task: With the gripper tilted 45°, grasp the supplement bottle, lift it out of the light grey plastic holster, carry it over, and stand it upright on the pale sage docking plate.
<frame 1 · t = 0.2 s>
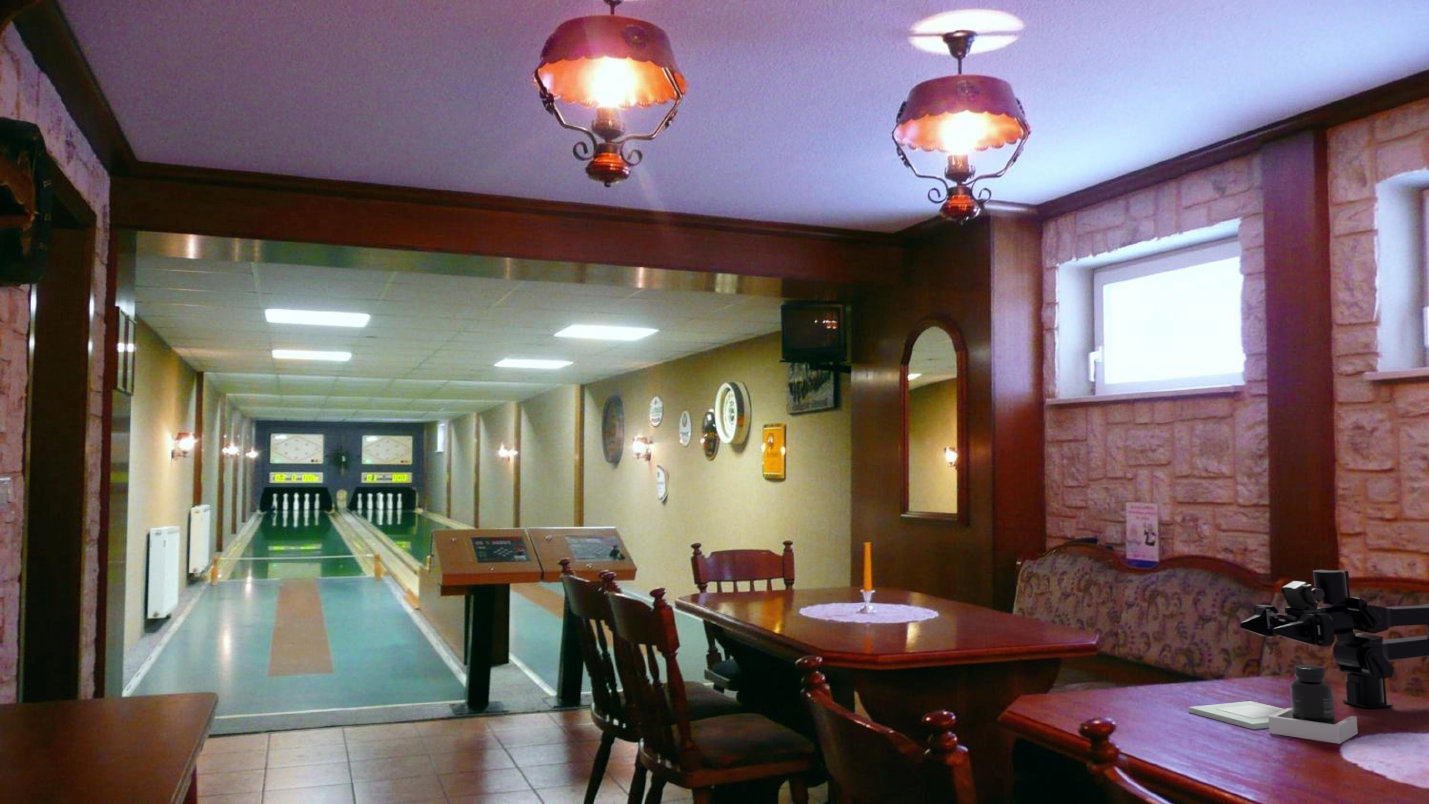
hand: (1256, 628, 206), 17 cm above the table, tool horizontal, fingers open, 9 cm apart
supplement bottle: (1314, 734, 188), resting in holster
holster: (1314, 732, 188), on the table
docking plate: (1251, 716, 201), on the table
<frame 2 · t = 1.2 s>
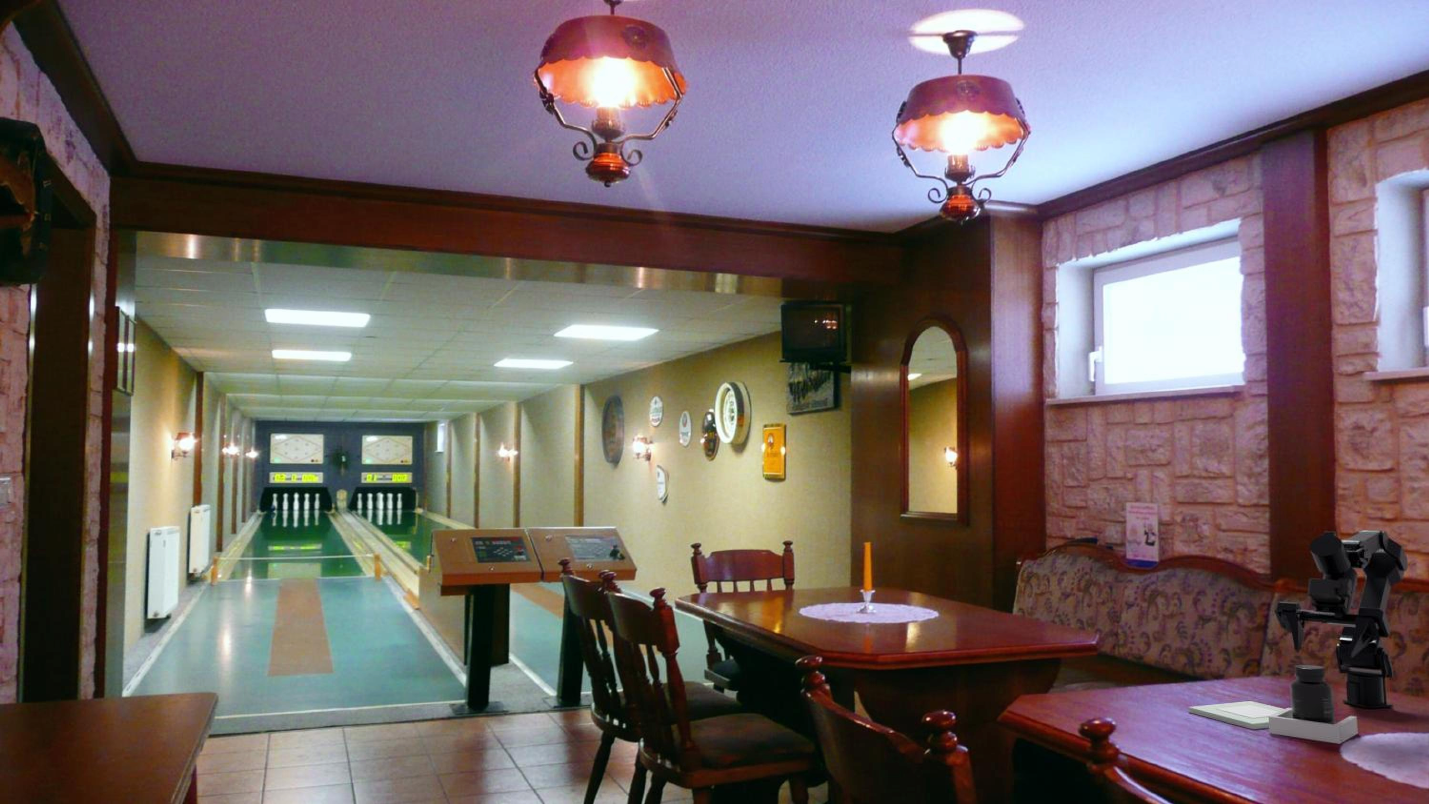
hand: (1323, 653, 194), 13 cm above the table, tool tilted 45°, fingers open, 9 cm apart
nothing on the table moved.
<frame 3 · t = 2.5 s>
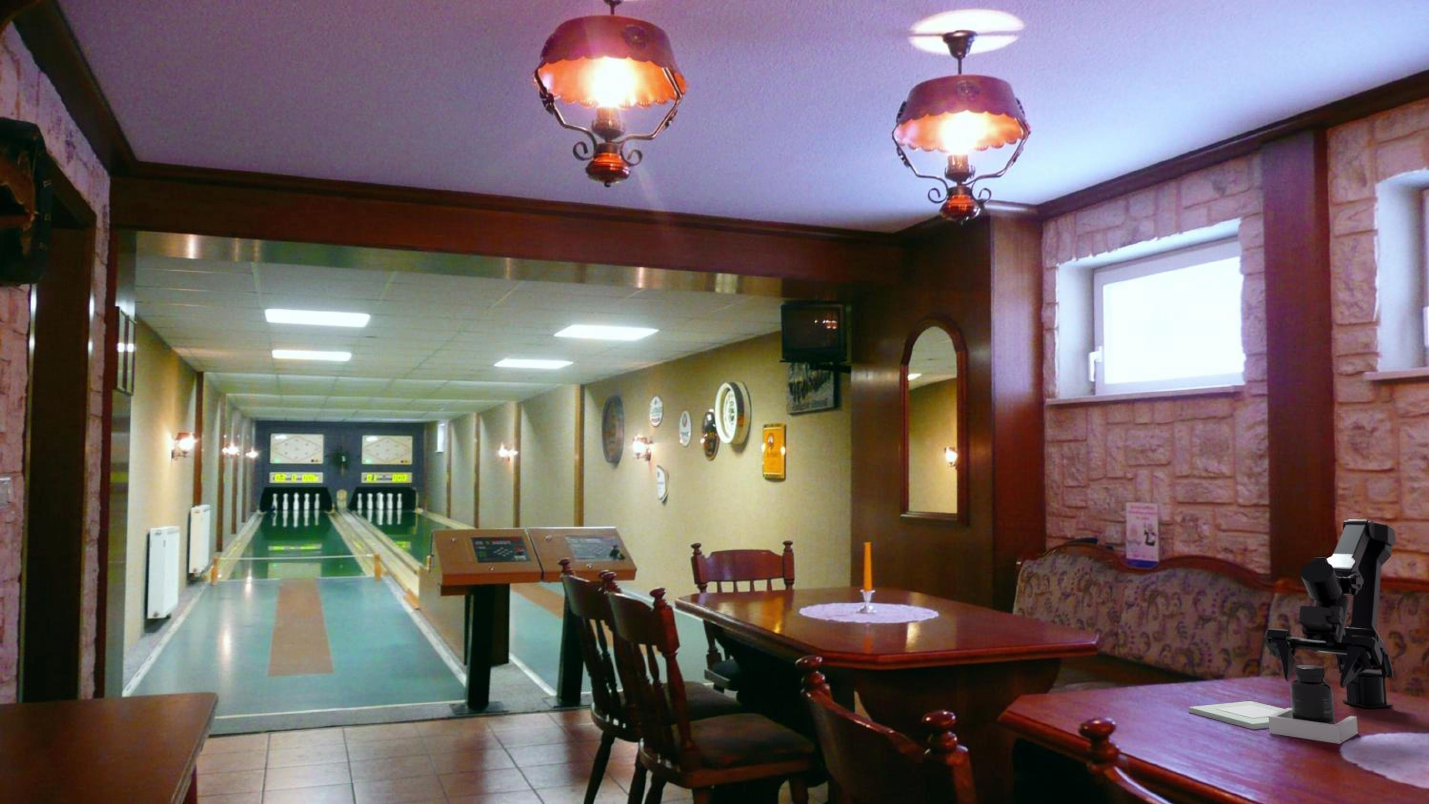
hand: (1313, 682, 189), 9 cm above the table, tool tilted 45°, fingers open, 9 cm apart
nothing on the table moved.
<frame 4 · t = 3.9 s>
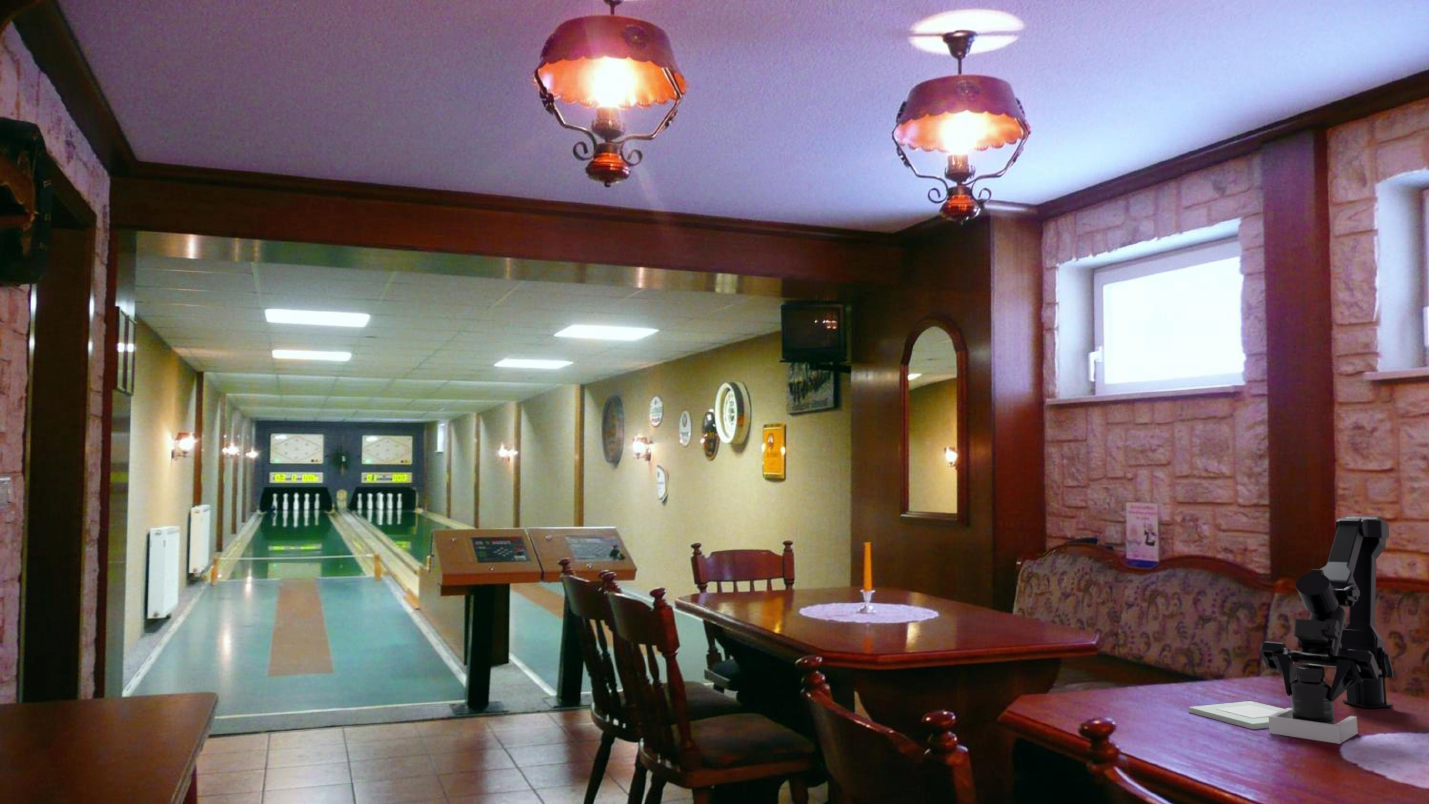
hand: (1309, 697, 187), 7 cm above the table, tool tilted 45°, fingers closed on supplement bottle, 7 cm apart
supplement bottle: (1314, 733, 188), resting in holster, touching gripper
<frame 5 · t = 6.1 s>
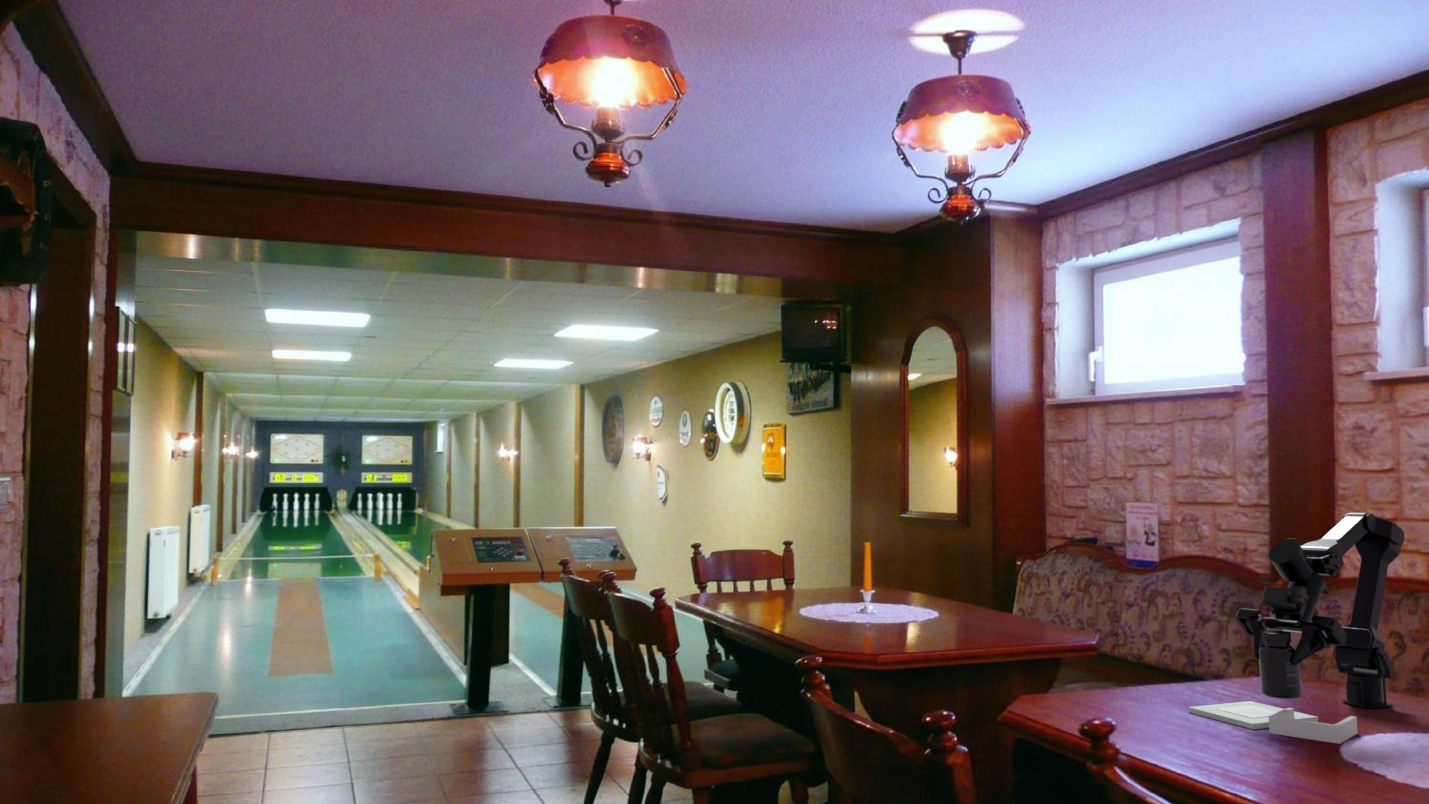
hand: (1274, 661, 194), 12 cm above the table, tool tilted 45°, fingers closed on supplement bottle, 7 cm apart
supplement bottle: (1281, 696, 194), point 5 cm above the table, touching gripper
when the fingers open (8 cm above the table, at t = 8.3 s): supplement bottle stays where it is, resting on docking plate.
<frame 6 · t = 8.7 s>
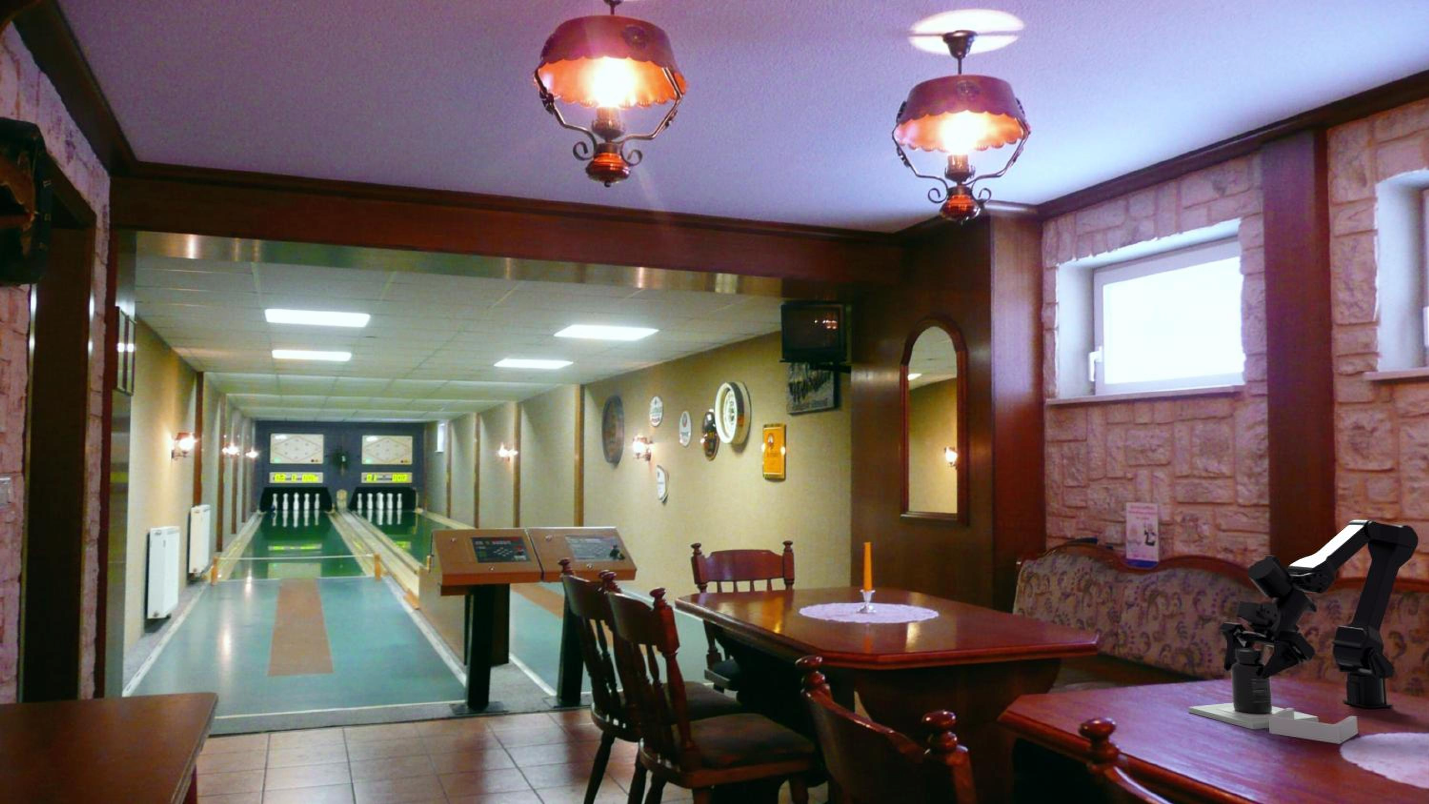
hand: (1243, 673, 201), 9 cm above the table, tool tilted 45°, fingers open, 9 cm apart
supplement bottle: (1252, 712, 201), point 1 cm above the table, touching docking plate
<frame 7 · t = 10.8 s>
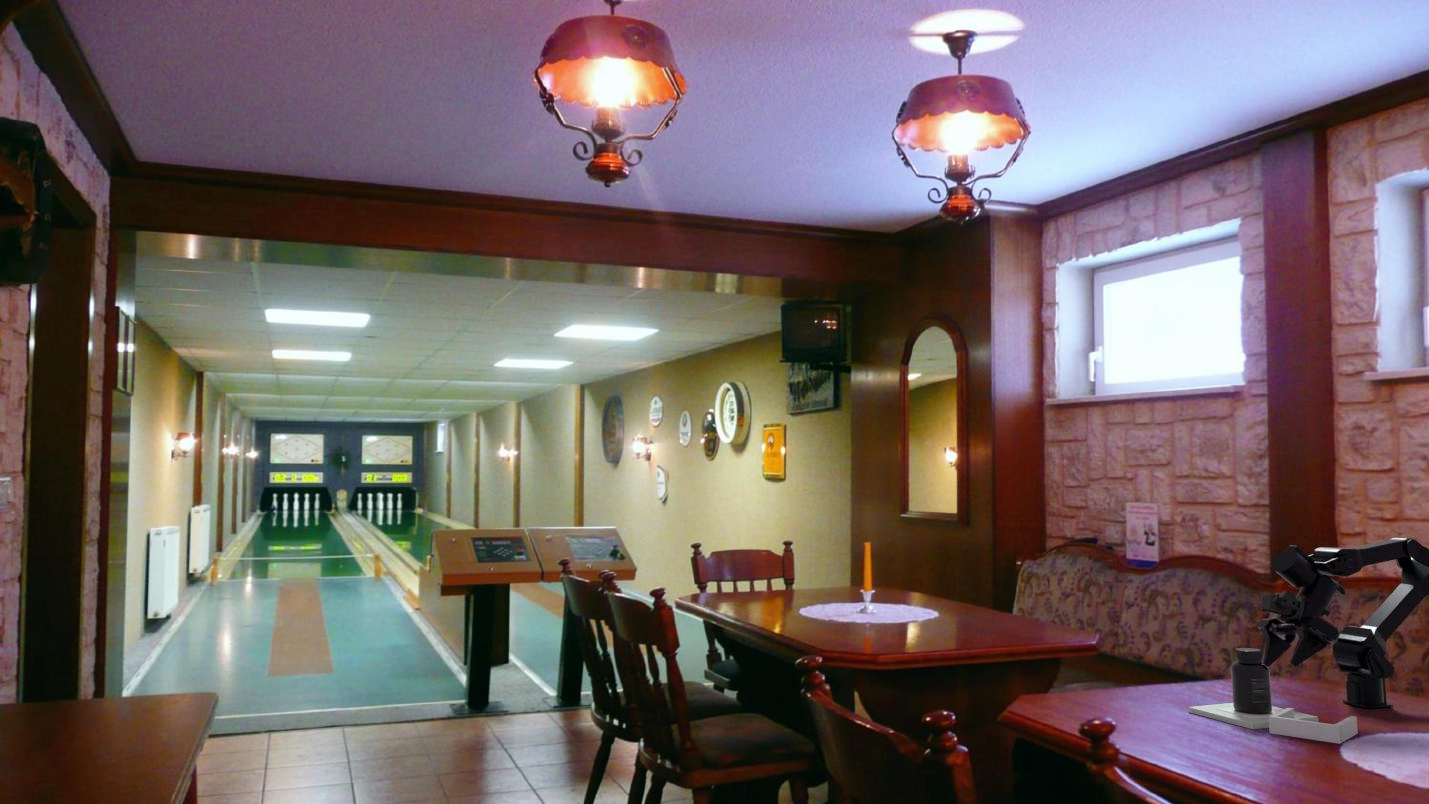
hand: (1279, 665, 205), 9 cm above the table, tool tilted 35°, fingers open, 9 cm apart
nothing on the table moved.
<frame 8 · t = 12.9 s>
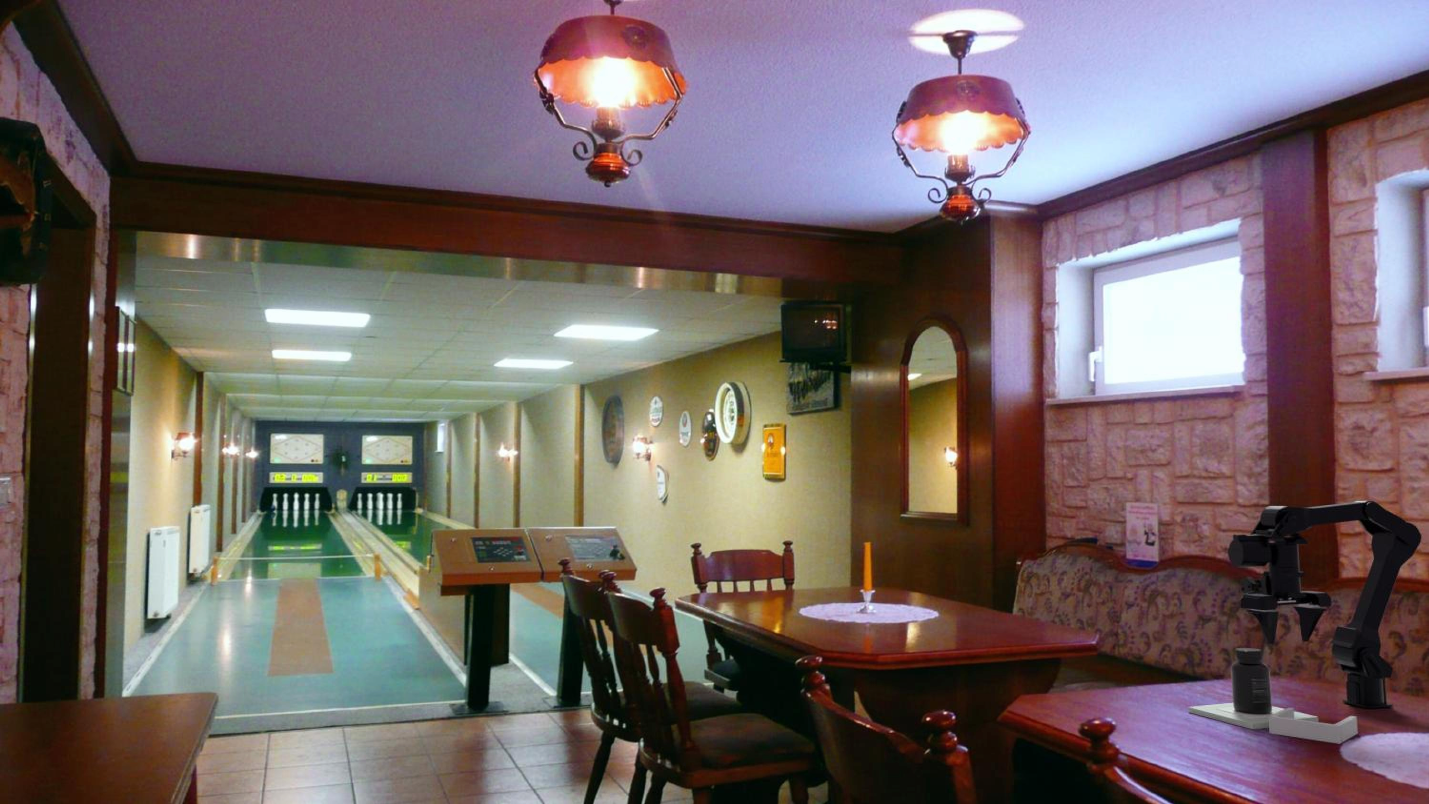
hand: (1288, 642, 210), 13 cm above the table, tool pointing down, fingers open, 9 cm apart
nothing on the table moved.
at the end: supplement bottle inside the target area on the docking plate (0.2 cm from its centre), point 0.9 cm above the docking plate's base; supplement bottle tilted 0°; the gripper is holding nothing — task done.
